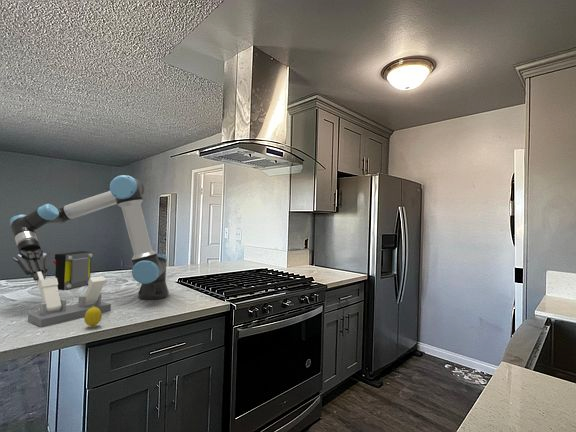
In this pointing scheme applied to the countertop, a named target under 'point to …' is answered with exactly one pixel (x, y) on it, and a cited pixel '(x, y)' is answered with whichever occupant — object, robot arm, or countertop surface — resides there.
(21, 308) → the countertop surface
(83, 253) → the electrical component
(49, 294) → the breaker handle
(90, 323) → the lemon
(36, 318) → the block
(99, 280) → the lever
